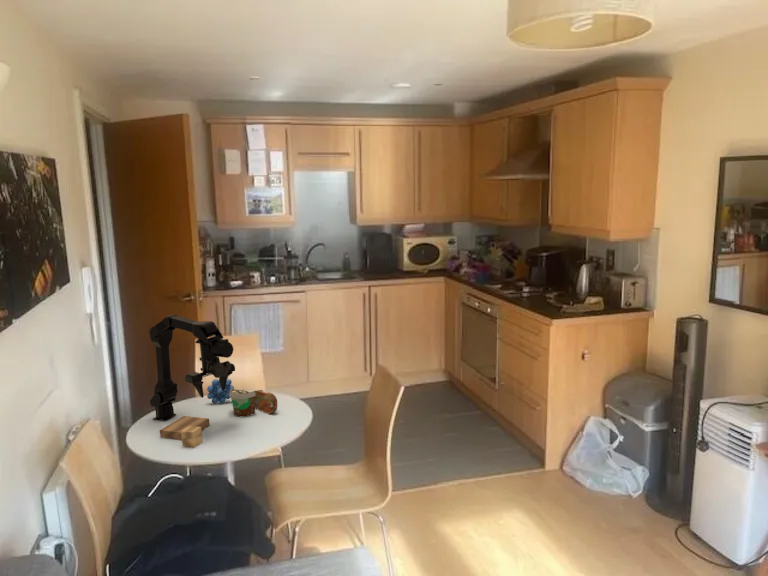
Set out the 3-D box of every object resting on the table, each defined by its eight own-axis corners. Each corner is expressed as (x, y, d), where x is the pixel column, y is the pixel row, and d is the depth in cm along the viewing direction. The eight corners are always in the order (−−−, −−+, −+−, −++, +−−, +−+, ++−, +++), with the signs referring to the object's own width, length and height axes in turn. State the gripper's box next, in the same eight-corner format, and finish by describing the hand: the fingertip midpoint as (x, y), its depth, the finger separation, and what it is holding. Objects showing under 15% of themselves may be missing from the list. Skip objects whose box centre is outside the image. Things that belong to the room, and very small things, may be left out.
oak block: (182, 446, 211) (180, 431, 210) (191, 440, 215) (189, 425, 214) (194, 448, 209) (192, 432, 208) (202, 442, 214) (201, 426, 213)
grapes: (236, 398, 257) (234, 372, 255) (234, 404, 250) (232, 377, 248) (209, 401, 256) (207, 375, 253) (207, 406, 249) (204, 380, 247)
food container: (224, 415, 239) (222, 392, 237) (234, 409, 244) (232, 387, 242) (247, 419, 233) (245, 395, 231) (257, 413, 238) (255, 390, 236)
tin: (251, 408, 245) (250, 389, 244) (257, 405, 248) (256, 387, 246) (273, 416, 235) (271, 396, 234) (279, 413, 237) (278, 394, 236)
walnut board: (160, 437, 219) (159, 430, 219) (184, 422, 232) (183, 415, 232) (187, 440, 215) (186, 433, 215) (209, 425, 228) (209, 418, 228)
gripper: (198, 364, 208) (203, 405, 210) (241, 352, 222) (245, 390, 224) (182, 359, 215) (186, 399, 218) (225, 347, 229) (228, 385, 232)
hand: (212, 393), depth 223 cm, fingers open, 9 cm apart
